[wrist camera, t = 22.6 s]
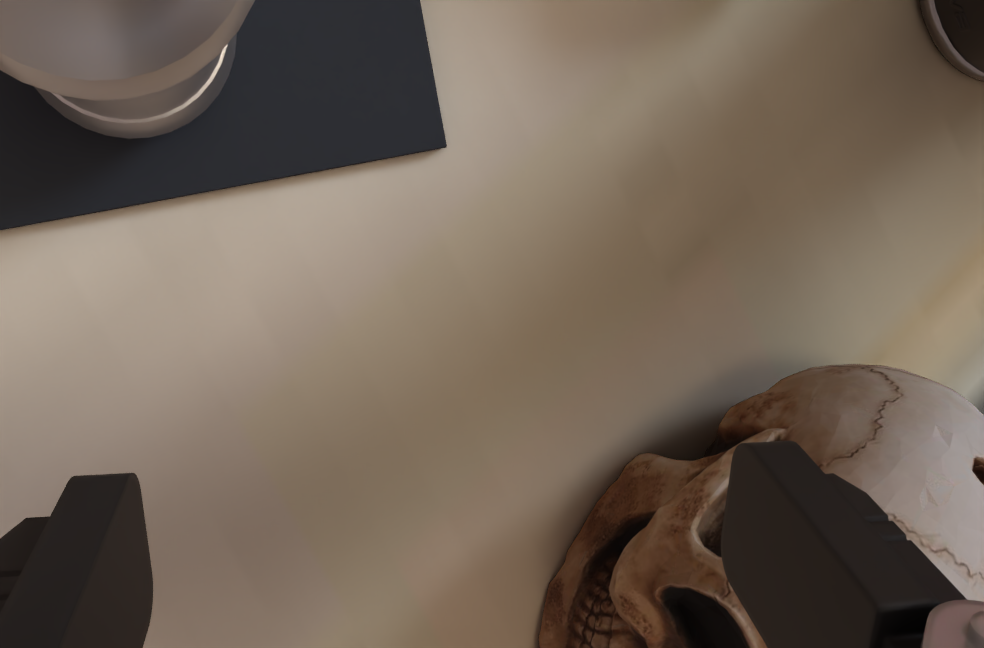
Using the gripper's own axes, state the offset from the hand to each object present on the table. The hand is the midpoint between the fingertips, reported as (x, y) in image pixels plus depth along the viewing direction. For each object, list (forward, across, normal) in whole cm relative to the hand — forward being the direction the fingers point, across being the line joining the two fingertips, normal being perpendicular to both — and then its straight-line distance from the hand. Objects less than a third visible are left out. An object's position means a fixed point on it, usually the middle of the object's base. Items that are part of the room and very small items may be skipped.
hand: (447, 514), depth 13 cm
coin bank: (+23, -14, +17) cm, 32 cm away
